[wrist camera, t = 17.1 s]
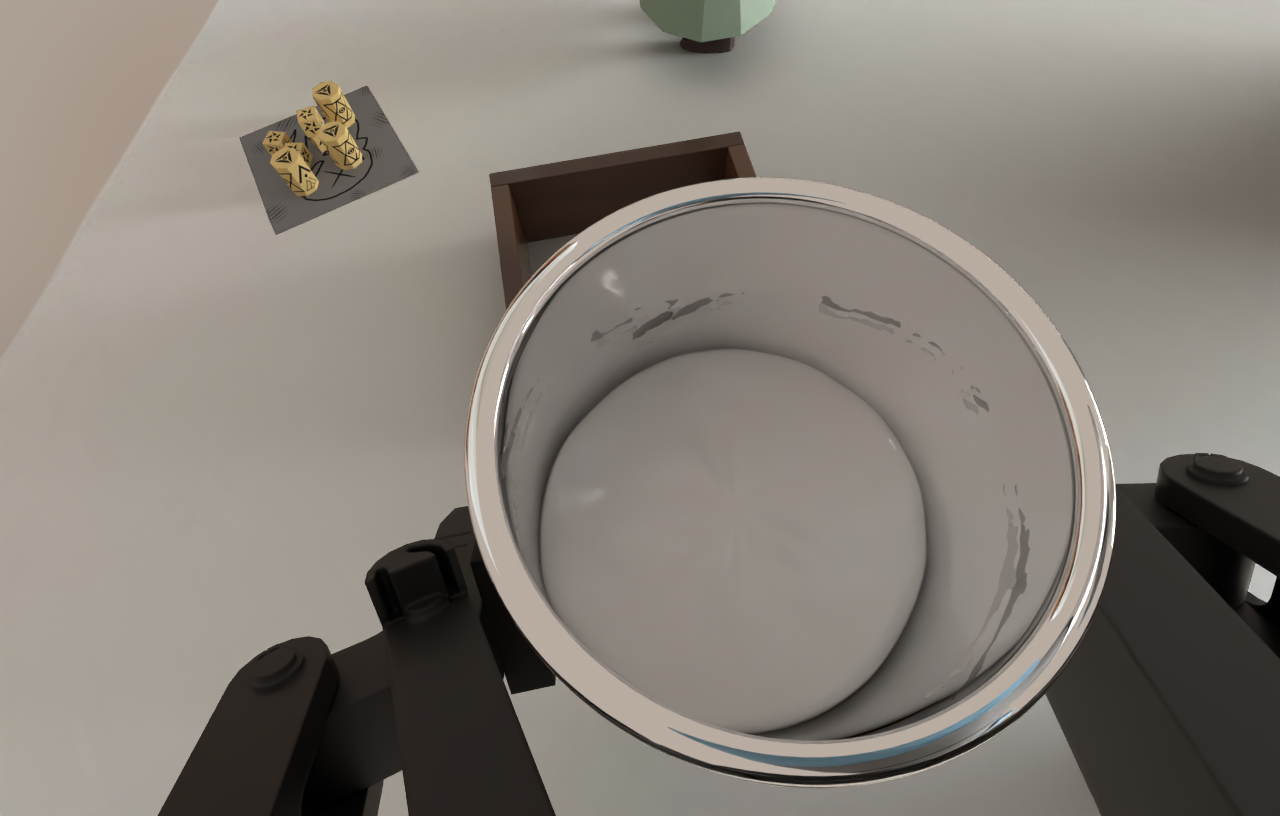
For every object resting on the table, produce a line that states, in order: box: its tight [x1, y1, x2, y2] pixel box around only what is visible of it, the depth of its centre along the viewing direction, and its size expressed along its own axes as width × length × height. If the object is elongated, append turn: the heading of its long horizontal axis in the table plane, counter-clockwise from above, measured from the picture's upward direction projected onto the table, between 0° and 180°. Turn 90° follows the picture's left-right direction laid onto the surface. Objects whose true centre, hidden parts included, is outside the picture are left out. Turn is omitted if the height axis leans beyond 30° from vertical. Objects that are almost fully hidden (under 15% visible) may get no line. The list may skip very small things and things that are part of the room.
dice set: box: [261, 81, 363, 196], centre depth 32 cm, size 5×5×2 cm
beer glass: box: [464, 177, 1116, 788], centre depth 13 cm, size 7×7×15 cm
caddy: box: [489, 132, 756, 310], centre depth 26 cm, size 12×12×4 cm
